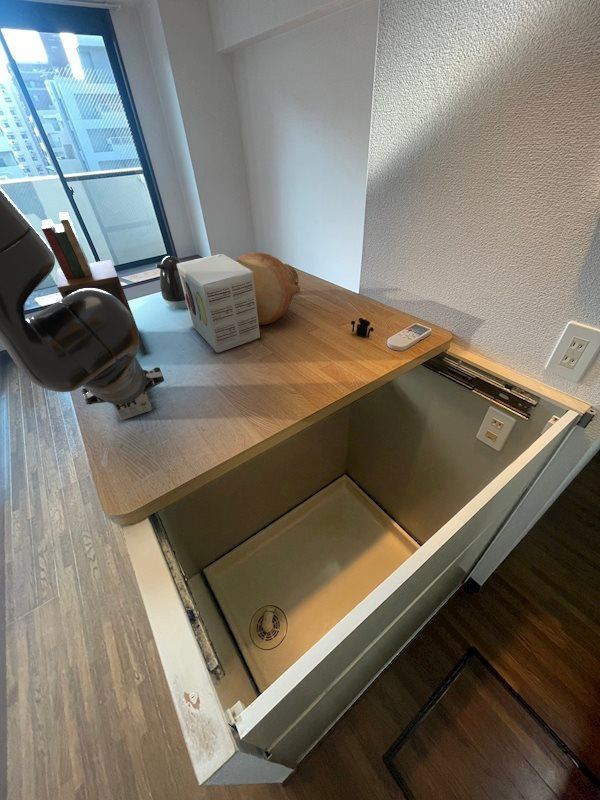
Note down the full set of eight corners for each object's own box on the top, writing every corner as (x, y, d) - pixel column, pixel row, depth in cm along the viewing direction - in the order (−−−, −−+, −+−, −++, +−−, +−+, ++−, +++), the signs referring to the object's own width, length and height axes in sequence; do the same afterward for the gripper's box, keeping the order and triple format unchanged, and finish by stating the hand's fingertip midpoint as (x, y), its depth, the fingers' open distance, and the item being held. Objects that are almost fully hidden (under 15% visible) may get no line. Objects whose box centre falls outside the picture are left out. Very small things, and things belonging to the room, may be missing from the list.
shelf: (98, 367, 80) (26, 228, 59) (93, 343, 88) (29, 214, 68) (147, 353, 84) (96, 219, 64) (138, 332, 92) (91, 208, 72)
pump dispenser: (158, 308, 104) (142, 259, 94) (182, 296, 111) (169, 249, 101) (181, 315, 100) (168, 264, 90) (204, 302, 107) (194, 254, 97)
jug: (199, 287, 86) (243, 263, 110) (243, 345, 93) (276, 310, 117) (252, 241, 76) (288, 225, 100) (298, 309, 83) (322, 279, 106)
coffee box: (153, 410, 68) (125, 343, 57) (121, 421, 65) (85, 353, 55) (145, 386, 74) (118, 322, 63) (115, 396, 71) (82, 330, 61)
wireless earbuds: (348, 332, 91) (350, 316, 87) (353, 329, 92) (355, 312, 89) (370, 341, 87) (373, 324, 84) (375, 337, 89) (378, 320, 85)
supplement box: (191, 327, 94) (174, 263, 82) (232, 314, 99) (222, 252, 88) (216, 354, 83) (201, 284, 71) (261, 337, 89) (254, 270, 77)
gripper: (152, 338, 49) (160, 365, 65) (51, 364, 44) (87, 386, 60) (170, 384, 49) (174, 399, 65) (71, 415, 44) (102, 423, 60)
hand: (132, 393), depth 63 cm, fingers closed
